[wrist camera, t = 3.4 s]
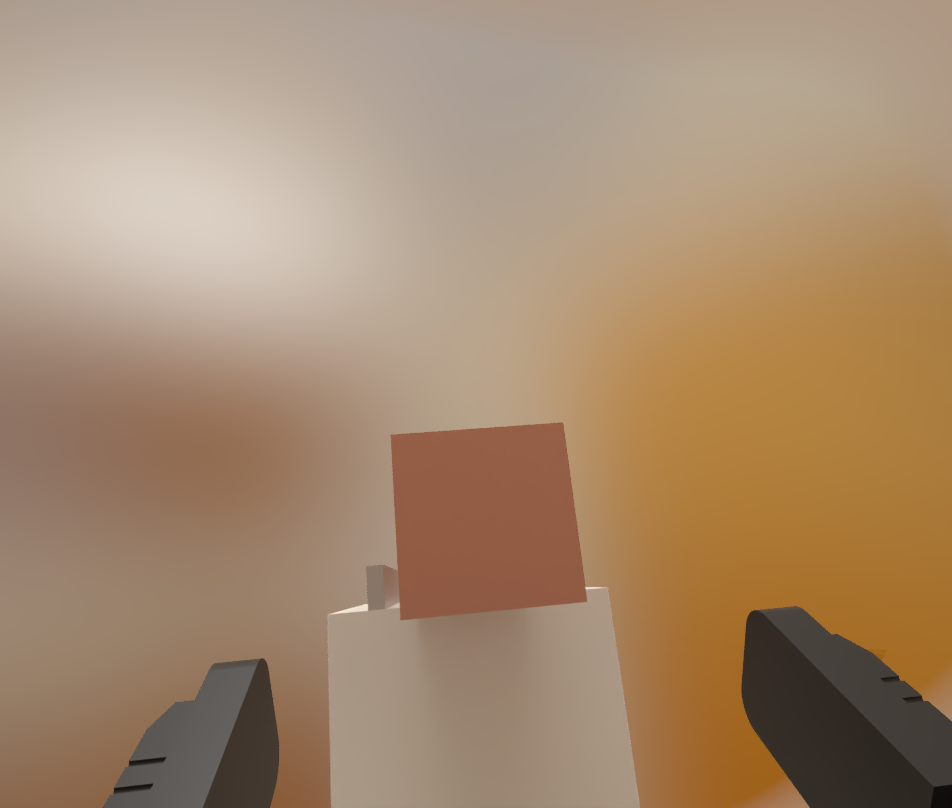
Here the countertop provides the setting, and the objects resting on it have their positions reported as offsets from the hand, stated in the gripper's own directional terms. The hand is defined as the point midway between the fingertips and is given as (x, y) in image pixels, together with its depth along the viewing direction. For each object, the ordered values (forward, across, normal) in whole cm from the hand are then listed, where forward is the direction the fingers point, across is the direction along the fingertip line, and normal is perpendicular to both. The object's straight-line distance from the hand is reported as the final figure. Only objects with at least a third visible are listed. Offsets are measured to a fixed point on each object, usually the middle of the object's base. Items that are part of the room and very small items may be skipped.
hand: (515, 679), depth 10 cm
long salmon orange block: (+12, 0, +6) cm, 13 cm away
